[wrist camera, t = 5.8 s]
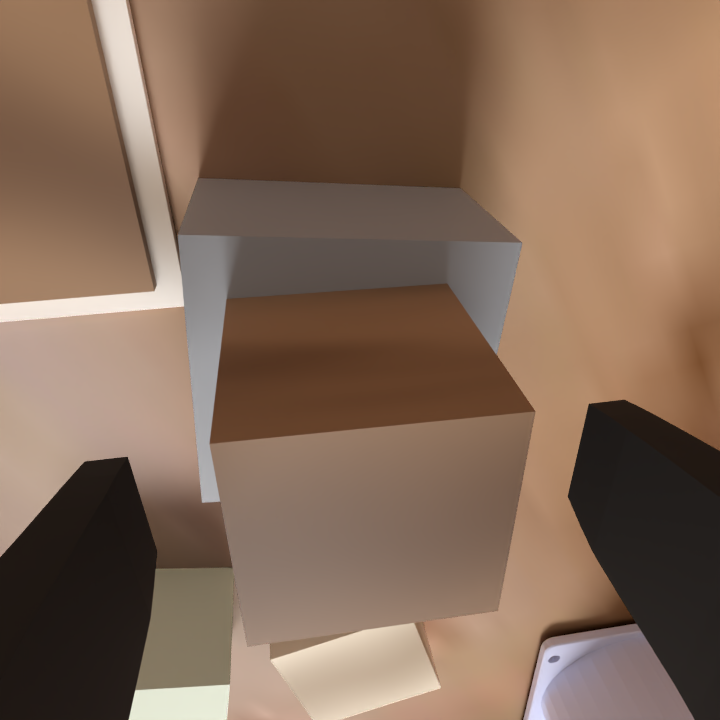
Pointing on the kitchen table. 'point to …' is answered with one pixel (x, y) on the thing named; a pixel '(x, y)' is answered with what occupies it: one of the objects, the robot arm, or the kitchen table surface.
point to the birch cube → (357, 669)
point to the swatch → (79, 166)
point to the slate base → (328, 259)
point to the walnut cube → (364, 460)
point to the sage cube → (187, 647)
